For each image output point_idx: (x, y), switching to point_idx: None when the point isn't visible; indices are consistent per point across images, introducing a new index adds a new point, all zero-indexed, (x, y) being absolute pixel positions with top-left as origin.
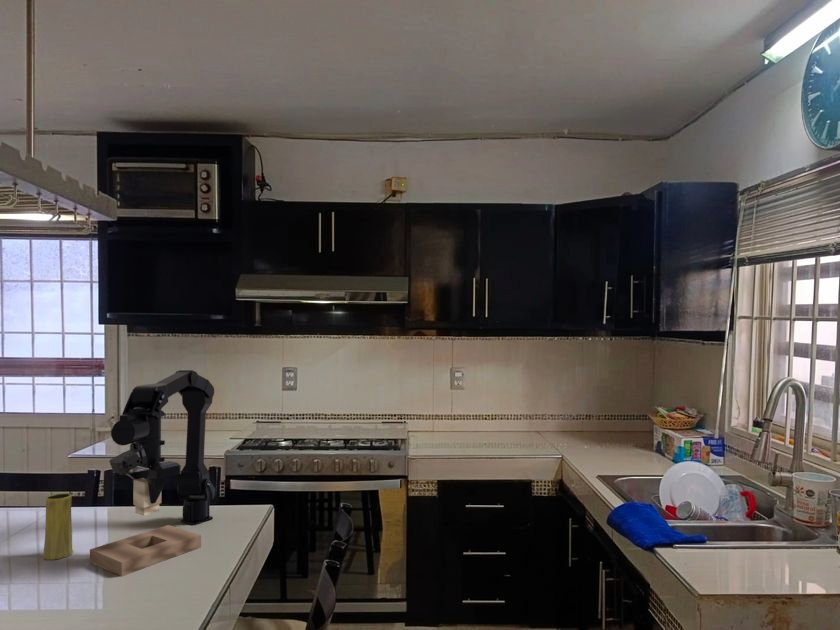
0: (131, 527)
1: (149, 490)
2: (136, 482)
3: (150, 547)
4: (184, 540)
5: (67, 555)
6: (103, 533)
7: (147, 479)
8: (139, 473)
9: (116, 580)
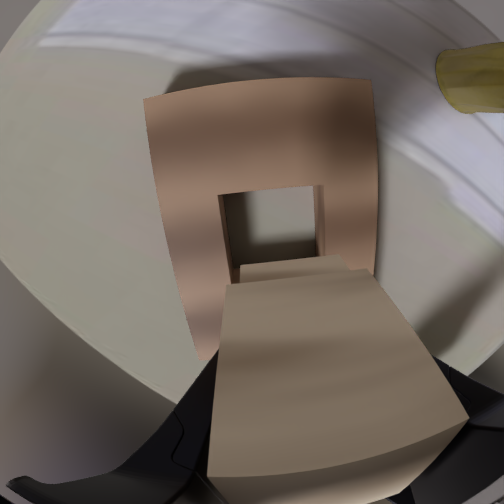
0: (473, 283)
1: (208, 413)
2: (403, 423)
3: (208, 222)
4: (189, 318)
5: (439, 83)
6: (494, 224)
7: (47, 492)
8: (468, 483)
9: (141, 85)
